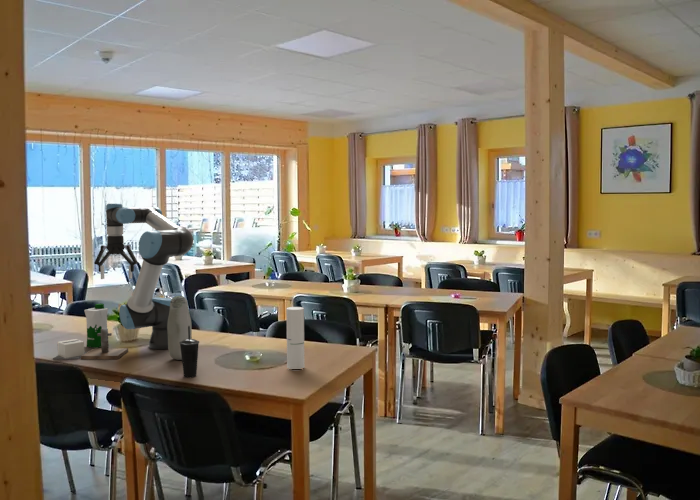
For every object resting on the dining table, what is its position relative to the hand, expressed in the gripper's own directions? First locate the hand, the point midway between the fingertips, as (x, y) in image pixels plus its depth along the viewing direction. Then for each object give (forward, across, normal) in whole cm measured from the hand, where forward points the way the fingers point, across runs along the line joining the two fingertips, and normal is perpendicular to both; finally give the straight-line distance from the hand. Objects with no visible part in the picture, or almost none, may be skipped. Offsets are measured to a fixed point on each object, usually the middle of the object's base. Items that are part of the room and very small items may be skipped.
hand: (116, 278), depth 310 cm
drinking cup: (+32, -49, +61) cm, 85 cm away
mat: (+32, +12, +26) cm, 43 cm away
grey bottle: (+32, -39, +34) cm, 61 cm away
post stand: (+32, -3, +26) cm, 41 cm away
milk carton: (+32, +8, +6) cm, 34 cm away
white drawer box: (+31, +12, +26) cm, 43 cm away
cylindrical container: (+32, -90, +51) cm, 109 cm away
